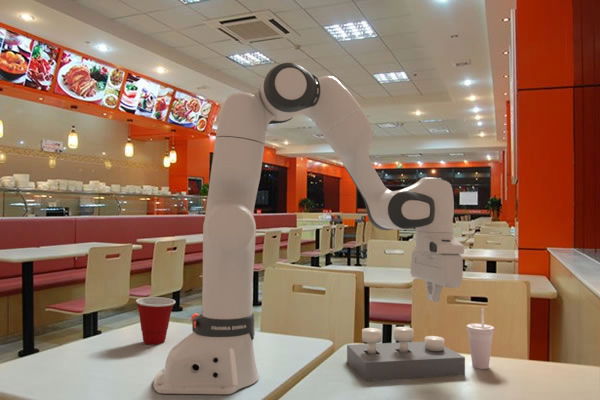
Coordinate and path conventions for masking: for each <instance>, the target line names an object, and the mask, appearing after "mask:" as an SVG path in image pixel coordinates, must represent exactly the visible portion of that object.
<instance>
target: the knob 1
mask: <svg viewBox="0 0 600 400" xmlns="http://www.w3.org/2000/svg"><path fill="white" fill-rule="evenodd" d="M382 331H383V330H382V329H380V328H376V327H367V328H366V327H365V328H362V329H361V341H362V342H363V343H366V344H368V355H372V354H376V344H380V343H382V341H383V340H382V339H383V337H382V333H383V332H382Z"/></svg>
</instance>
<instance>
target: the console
mask: <svg viewBox="0 0 600 400" xmlns="http://www.w3.org/2000/svg"><path fill="white" fill-rule="evenodd" d="M347 361H348V362H349V363H350V364H351V365H350V364H349V363H348V362H347ZM346 362H347V363H348V364H349V365H350V367H352V368H353V369H354V370H355V372H356V373H357V372H358V373H357V374H358V375H359V376H360V377H361V379H362V380H364V381H365V382H366V381H367V382H368V381H369V382H370V381H386V380H402V379H417V378H436V377H451V376H452V377H453V376H466V357H465V356H464V355H461V354H460V353H458V352H457V351H456V350H455V351H454V350H452V349H451V348H449V347H447V346H445V345H444V350H443V351H435V352H431V351H430V350H427V349H425V341H410V342H408V353H399V342H385V343H382V342H380V343H376V354H372V355H368V343H364V344H363V343H362V344H347V345H346Z"/></svg>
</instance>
